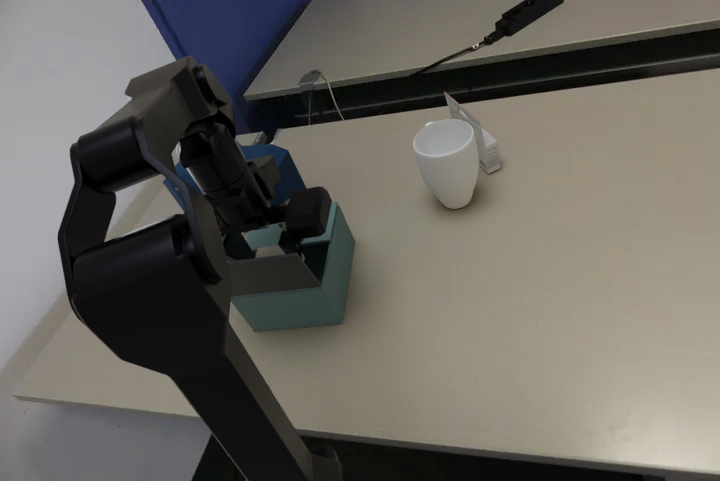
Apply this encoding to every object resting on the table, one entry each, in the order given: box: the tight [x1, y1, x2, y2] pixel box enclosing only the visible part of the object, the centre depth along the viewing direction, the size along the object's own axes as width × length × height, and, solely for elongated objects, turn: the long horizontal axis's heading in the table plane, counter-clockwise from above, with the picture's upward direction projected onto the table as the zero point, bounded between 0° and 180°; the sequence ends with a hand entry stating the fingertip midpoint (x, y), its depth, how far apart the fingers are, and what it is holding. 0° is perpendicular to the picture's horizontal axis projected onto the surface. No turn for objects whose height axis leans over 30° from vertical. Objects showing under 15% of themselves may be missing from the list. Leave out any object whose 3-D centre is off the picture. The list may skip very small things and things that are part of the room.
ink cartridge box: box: [443, 91, 501, 175], centre depth 80 cm, size 2×11×10 cm, turn 20°
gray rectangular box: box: [255, 245, 305, 261], centre depth 67 cm, size 4×6×3 cm
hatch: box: [228, 253, 321, 297], centre depth 62 cm, size 7×13×1 cm
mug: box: [412, 118, 480, 210], centre depth 75 cm, size 12×8×11 cm
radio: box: [162, 138, 307, 216], centre depth 83 cm, size 21×9×20 cm, turn 72°
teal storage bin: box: [231, 201, 356, 333], centre depth 72 cm, size 15×13×8 cm
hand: (279, 267), depth 67 cm, fingers closed on gray rectangular box, 5 cm apart
